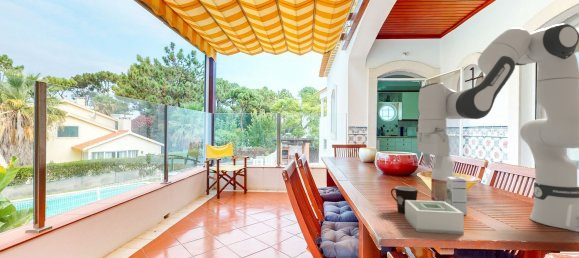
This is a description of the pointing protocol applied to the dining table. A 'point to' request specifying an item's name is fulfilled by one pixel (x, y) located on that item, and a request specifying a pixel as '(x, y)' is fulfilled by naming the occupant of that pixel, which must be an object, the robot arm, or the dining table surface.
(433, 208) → the small crate
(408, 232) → the dining table surface
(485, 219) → the dining table surface
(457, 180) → the syrup box
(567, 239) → the dining table surface
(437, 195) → the fruit juice
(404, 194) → the coffee mug
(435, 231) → the box
